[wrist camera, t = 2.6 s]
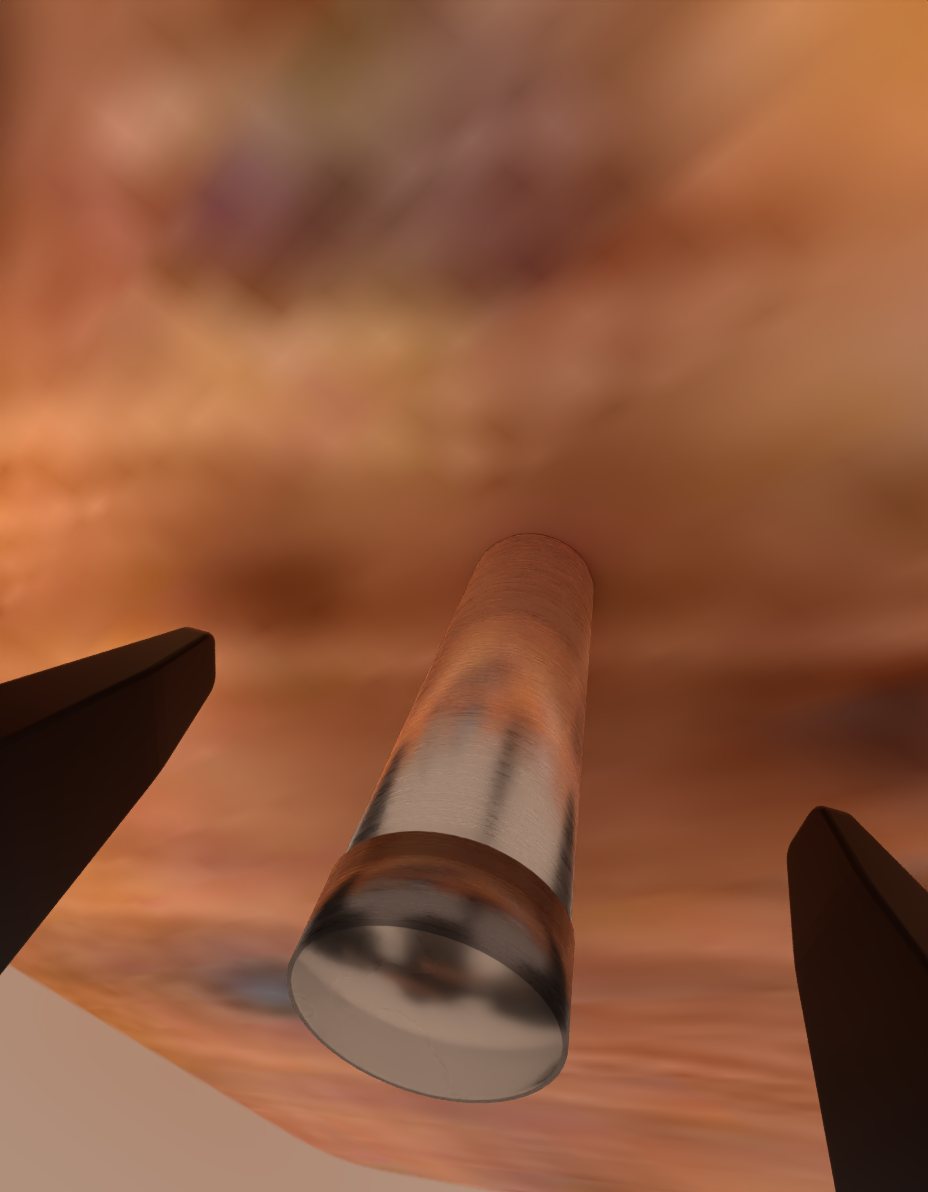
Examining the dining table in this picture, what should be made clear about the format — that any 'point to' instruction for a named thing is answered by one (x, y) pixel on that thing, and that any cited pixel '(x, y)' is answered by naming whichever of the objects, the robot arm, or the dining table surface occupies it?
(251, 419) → the dining table surface
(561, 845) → the metal cylinder
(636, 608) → the dining table surface
